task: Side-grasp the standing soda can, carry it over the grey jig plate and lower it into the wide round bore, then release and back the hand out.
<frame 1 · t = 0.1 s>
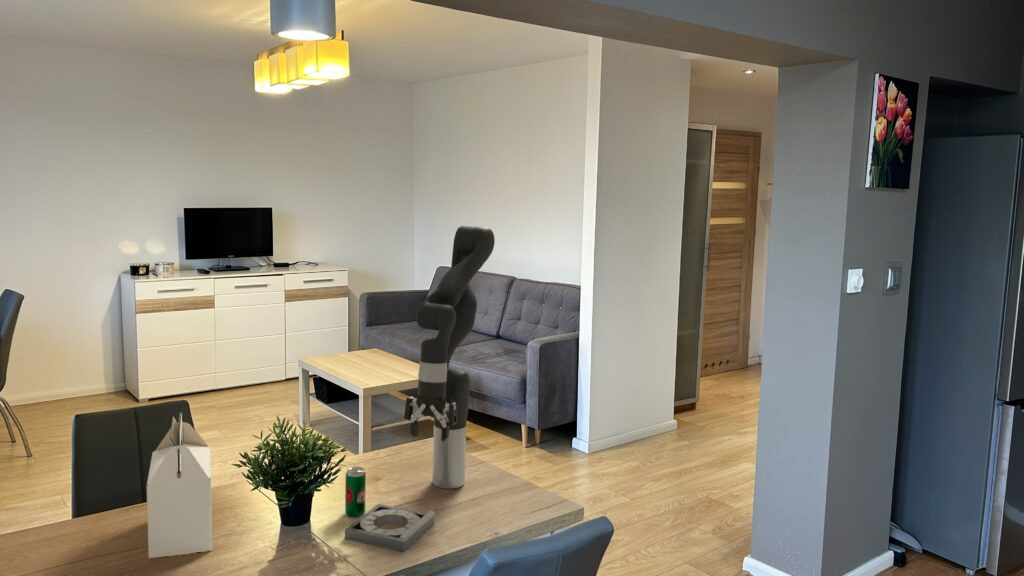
hand: (429, 438, 209), 17 cm above the table, tool pointing down, fingers open, 8 cm apart
gable box: (182, 535, 187), on the table
jig: (390, 531, 193), on the table
soda can: (355, 514, 202), on the table
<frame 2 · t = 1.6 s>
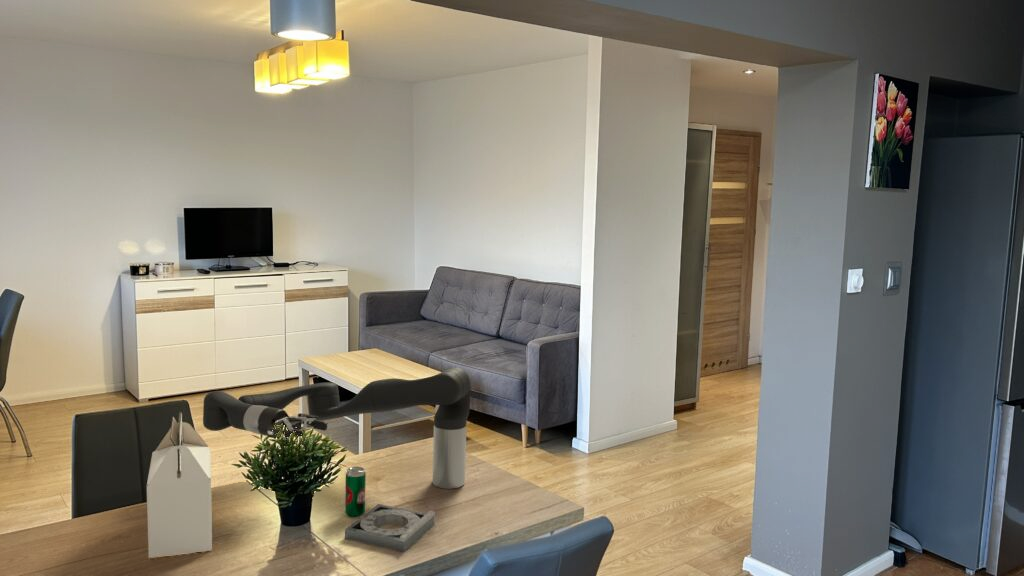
hand: (316, 431, 203), 20 cm above the table, tool horizontal, fingers open, 8 cm apart
nothing on the table moved.
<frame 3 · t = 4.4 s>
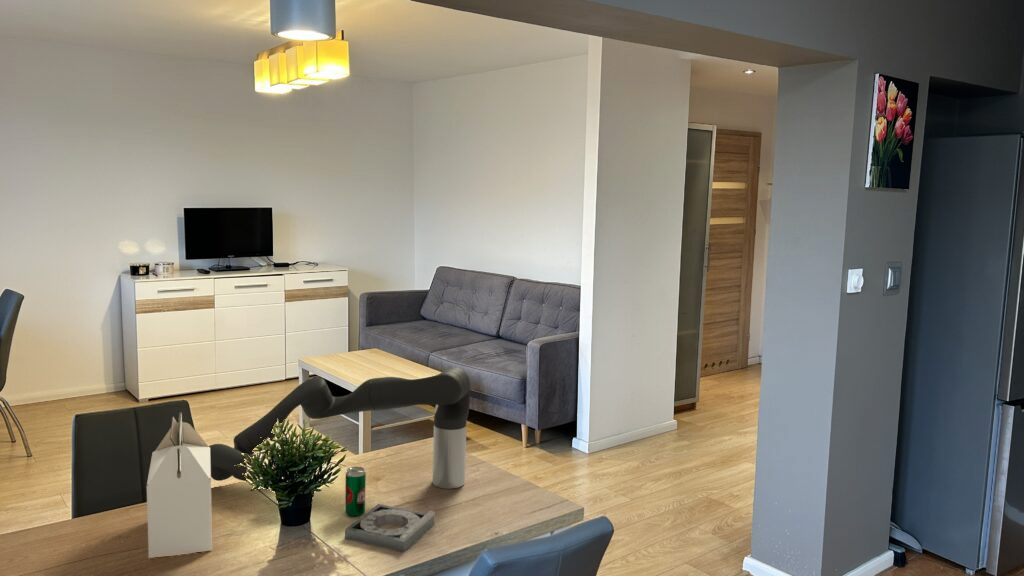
hand: (320, 481, 204), 7 cm above the table, tool horizontal, fingers open, 8 cm apart
nothing on the table moved.
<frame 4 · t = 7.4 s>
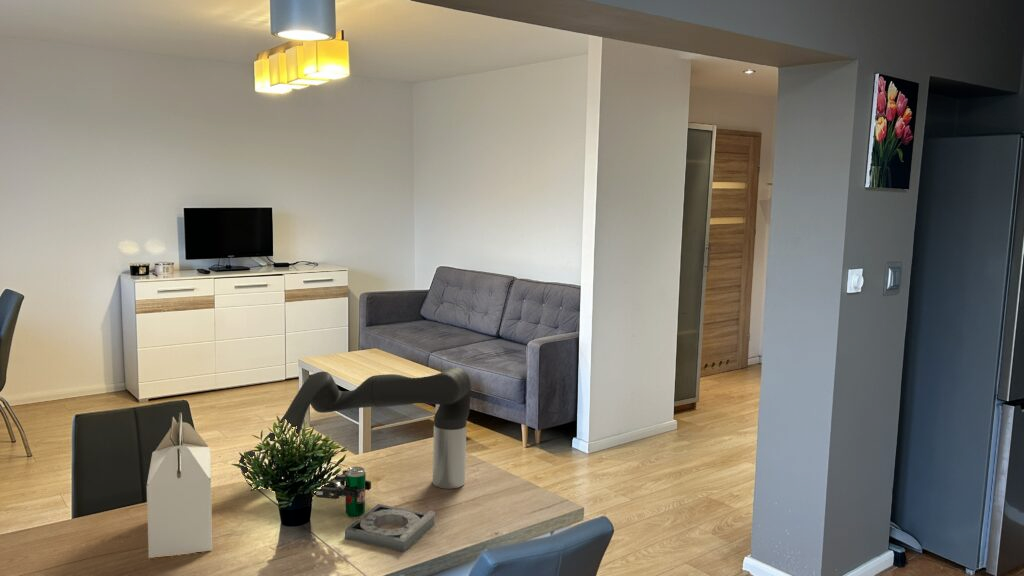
hand: (364, 489, 200), 7 cm above the table, tool horizontal, fingers closed on soda can, 5 cm apart
soda can: (355, 514, 202), on the table, touching gripper
everything else where it was.
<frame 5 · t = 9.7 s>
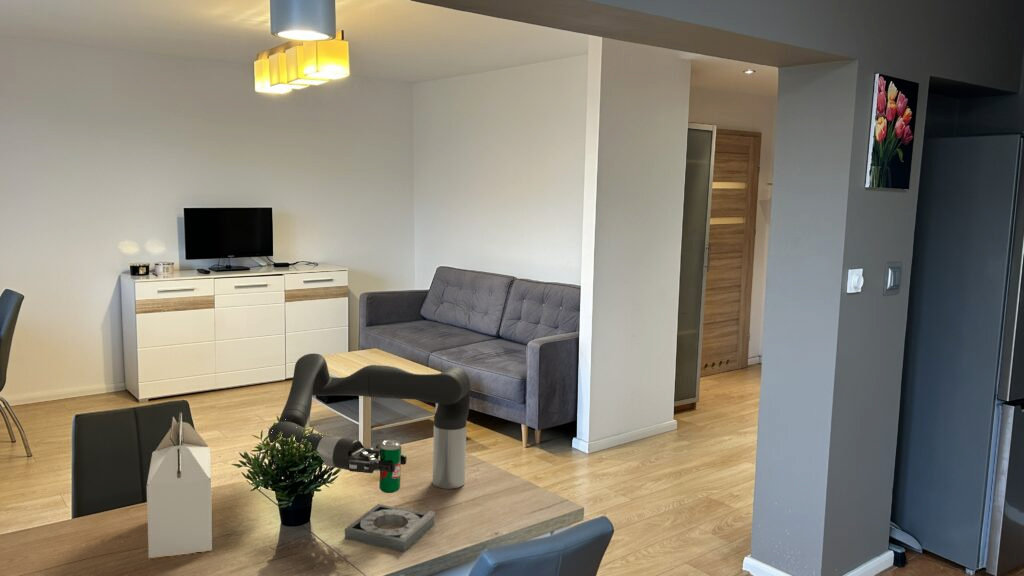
hand: (399, 464, 190), 18 cm above the table, tool horizontal, fingers closed on soda can, 5 cm apart
soda can: (389, 490, 192), point 10 cm above the table, touching gripper
everything else where it was.
when the fingers open (9 cm above the table, at t = 12.3 s): soda can drops 2 cm, resting in jig.
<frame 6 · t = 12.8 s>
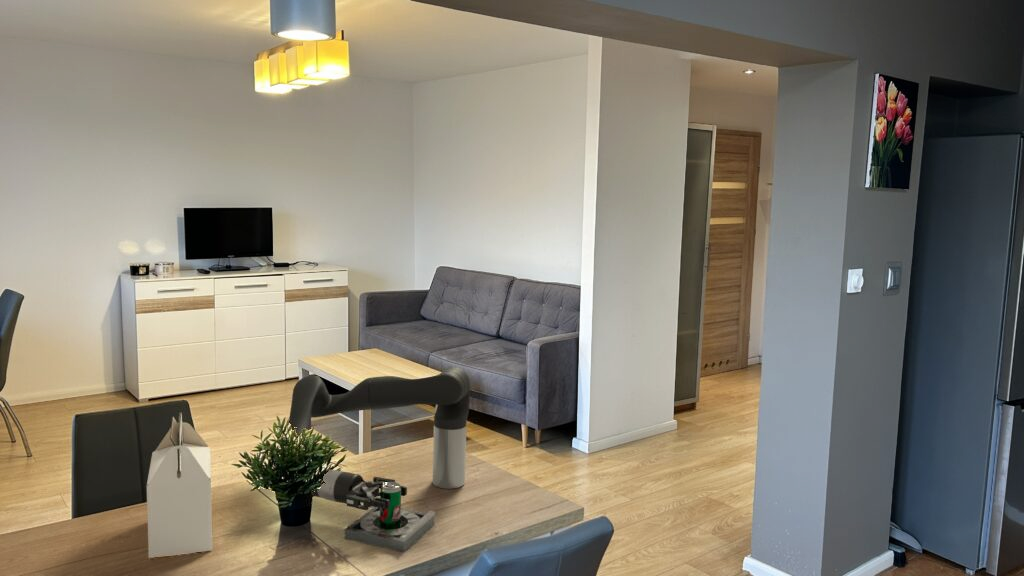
hand: (398, 497, 191), 9 cm above the table, tool horizontal, fingers open, 8 cm apart
soda can: (389, 532, 193), resting in jig
everything else where it was.
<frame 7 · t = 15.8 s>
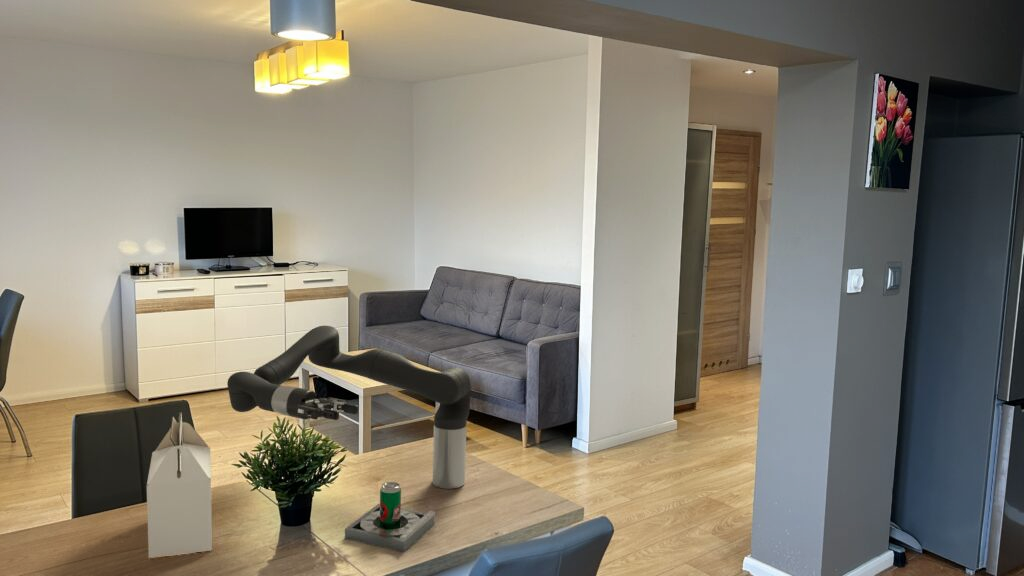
hand: (348, 412, 196), 28 cm above the table, tool horizontal, fingers open, 8 cm apart
nothing on the table moved.
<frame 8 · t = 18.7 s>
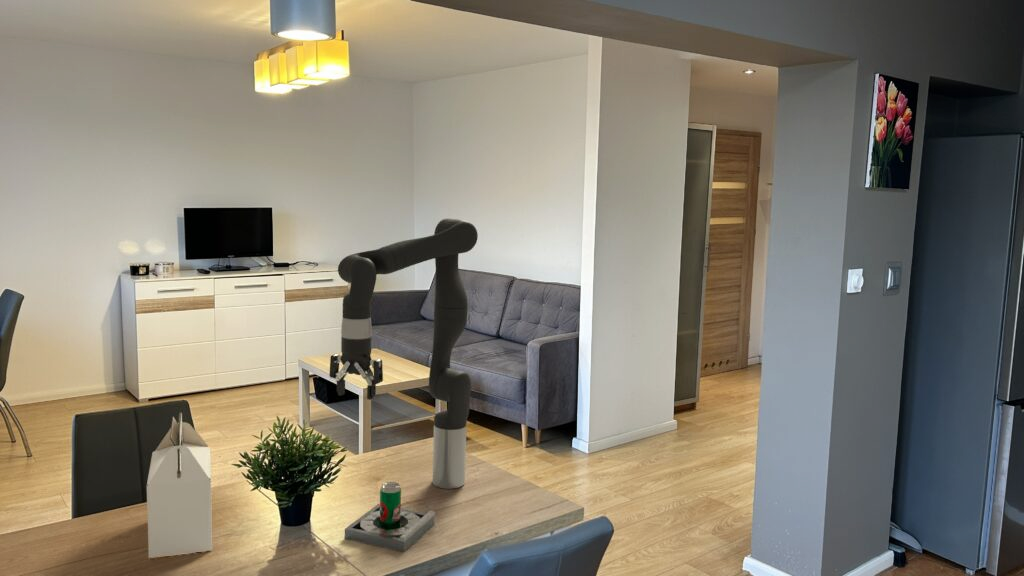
hand: (355, 396, 201), 30 cm above the table, tool pointing down, fingers open, 8 cm apart
nothing on the table moved.
at the end: soda can 0.1 cm off-centre on the jig, point 0.0 cm above the jig's base; soda can tilted 0°; the gripper is holding nothing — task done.
